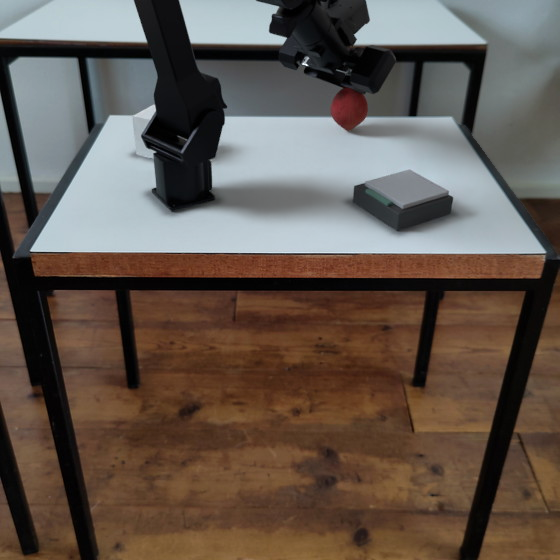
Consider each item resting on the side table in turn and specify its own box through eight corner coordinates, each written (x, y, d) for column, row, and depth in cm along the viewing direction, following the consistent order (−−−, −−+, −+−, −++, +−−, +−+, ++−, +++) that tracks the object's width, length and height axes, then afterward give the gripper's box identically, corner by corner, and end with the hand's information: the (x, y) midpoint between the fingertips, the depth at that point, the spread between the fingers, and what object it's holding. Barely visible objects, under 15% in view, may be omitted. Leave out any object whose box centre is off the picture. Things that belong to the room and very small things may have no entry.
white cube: (158, 141, 107) (155, 103, 104) (192, 148, 105) (190, 109, 102) (136, 154, 103) (132, 115, 99) (170, 162, 101) (167, 122, 97)
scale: (396, 231, 85) (399, 209, 83) (352, 202, 91) (354, 181, 89) (450, 213, 89) (454, 192, 87) (404, 186, 95) (407, 166, 94)
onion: (336, 138, 109) (339, 88, 105) (324, 125, 114) (327, 77, 109) (371, 135, 110) (375, 86, 106) (358, 122, 115) (362, 74, 111)
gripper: (395, -11, 91) (431, 58, 104) (293, -30, 102) (337, 34, 115) (353, 61, 91) (394, 121, 104) (254, 34, 102) (303, 91, 114)
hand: (356, 88), depth 109 cm, fingers closed on onion, 3 cm apart
